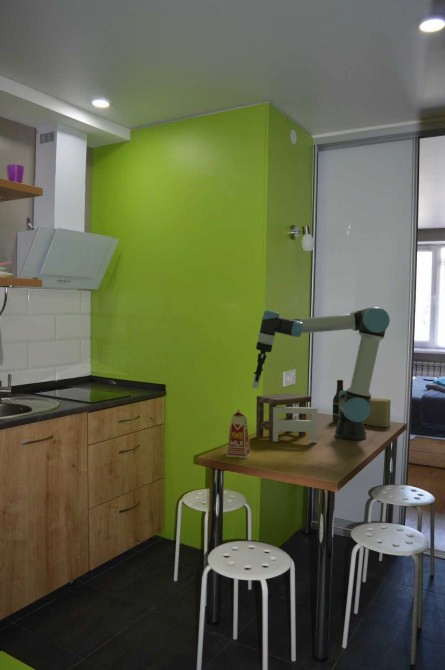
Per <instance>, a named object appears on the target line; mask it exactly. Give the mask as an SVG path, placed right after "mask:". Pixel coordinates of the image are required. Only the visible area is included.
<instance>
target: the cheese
mask: <svg viewBox="0 0 445 670" xmlns="http://www.w3.org/2000/svg"><path fill="white" fill-rule="evenodd" d="M369 405H370V414H369V416H368V417H367V418H366V419H365V420H364V421H363V424H368V425H367V426H370V425H374V426H373V427H377V426H380V427H379V428H384V427H387V428H389V427H390V426H391V399H390V398H376V397H371V400H370V404H369ZM389 425H390V426H389Z"/></svg>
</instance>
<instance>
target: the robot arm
mask: <svg viewBox="0 0 445 670" xmlns="http://www.w3.org/2000/svg"><path fill="white" fill-rule="evenodd" d="M390 322H391V321H390V315H389V313H388V312H387V310H385V309H383V307H382V308H381V307H379V306H371V307H367V308H364V309H361V310H355V311H353V310H352V311H351V312H350V313H345V314H343V313H342V314H335V315H334V314H332V315H325V316H315V317H313V316H312V317H302V318H294V319H293V318H291V319H290V318H284V317H281V316H280V312H277V311H274V310H273V311H272V310H270V309H269V310H268V309H266V310H265V311H264V312H263V315H262V319H261V323H260V328H259V333H258V334H257V337H258V339H257V343H256V347H255V349H256V350H257V351H259V352H260V353H258V355H257V361H256V362H257V366H256V370H255V371H254V372H253V374H254V378H253V383H252V388H253V389H256V390H258V389H259V386H260V381H261V376H262V372H263V371H264V368H263V365H264V364H265V362H266V359H267V354H266V353H271V352H272V350H273V344H274V341H275V336H276V333H277V334H282V335H285V336H291V337H295V338H300V337H301V336H302V334H311V333H322V332H324V333H325V332H332V331H333V332H335V331H345V330H352V331H354V332H355V331H356V332H358V335H359V336H360V341H359V345H358V350H357V355H356V360H355V365H354V368H353V374H352V376H351V377H352V378H351V383H350V387H348V388H347V389H346V390H343V391H340V392H339V421H338V423H336V424H337V425H336V428H335V431H334V436H335V437H336V438H338V439H340V440H341V439H342V440H349V441H358V440H360V441H361V440H365V439H367V432H366V428H365V425H364V424H363V421H364V420H365V419H366V418H367V417H368V416H369V414H370V405H369V404H370V400H371V398H372V394H371V392H370V388H371V383H372V378H373V374H374V369H375V366H376V365H375V364H376V359H377V355H378V351H379V347H380V346H379V345H380V342H381V341H382V340H383V339H385V334H386V330H387V329H388V327H389V325H390ZM252 388H251V389H252Z"/></svg>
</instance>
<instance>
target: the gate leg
mask: <svg viewBox="0 0 445 670" xmlns="http://www.w3.org/2000/svg"><path fill="white" fill-rule="evenodd" d="M286 413H301V414H306V415H307V414H309V415H311V418H310V419H306V420H280V419H281V418H279V414H286ZM286 431H293V432H298V433H299V432H306V433H310V442H311V443H315V444H317V443H318V407H307V406H306V407H286V406H276V407H273V441H272V442H279V432H286Z"/></svg>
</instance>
